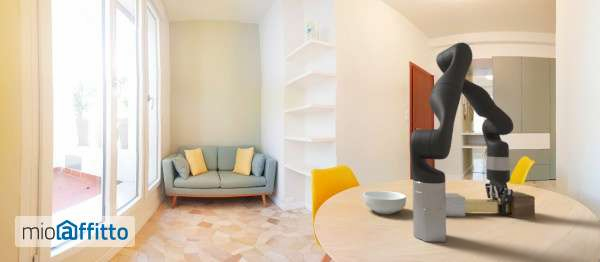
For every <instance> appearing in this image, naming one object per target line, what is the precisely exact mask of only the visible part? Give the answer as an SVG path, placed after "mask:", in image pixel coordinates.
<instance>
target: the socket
mask: <svg viewBox="0 0 600 262" xmlns="http://www.w3.org/2000/svg"><path fill="white" fill-rule="evenodd" d="M500 196H503V195H500ZM501 200H502V198H501ZM507 200H508V199H507ZM535 200H536V199H535V196H533V195H530V194H527V193H524V192H520V191H517V190H515V191H514V190H513V194H512V198H511V208H512V213H506V214H505V215H507V216H510V217H512V218H514V219H535V218H536V213H535V212H536V210H535V209H536V208H535V207H536V206H535V205H536V202H535Z"/></svg>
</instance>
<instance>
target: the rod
mask: <svg viewBox="0 0 600 262" xmlns="http://www.w3.org/2000/svg"><path fill="white" fill-rule="evenodd" d="M501 201H502V200H501ZM465 213H499V202H498V200H496V199H490V198H488V199H487V198H485V199H481V198H480V199H473V198H472V199H471V198H465ZM506 213H512V208H511V203H510V204H507V205H506Z"/></svg>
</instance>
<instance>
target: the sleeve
mask: <svg viewBox="0 0 600 262" xmlns="http://www.w3.org/2000/svg"><path fill="white" fill-rule="evenodd" d="M445 194H446V217H461V218H462V217H464V218H465V217H466V216H467V215H466V212H465V199H466V196H463V195H461V194H459V193H456V192H455V193H453V192H451V193H450V192H449V193H448V192H445Z"/></svg>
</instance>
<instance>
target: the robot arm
mask: <svg viewBox="0 0 600 262" xmlns="http://www.w3.org/2000/svg"><path fill="white" fill-rule="evenodd" d="M471 48H472V47H470V45H469V44H467V43H466V42H458V43H454V44H453V45H451V46H450V47H448V48H446V49H445V50H443V51H441V52H440V53H438V54H437V55H436V58H435V59H436V60H435V61H436V65H437V67H438V68H439V70H440V71H441V72H442V73H443V74H442V75H441V76H440V77H439V78H438V80H437V81H436V82H435V84H434V85H433V87H432V89H431V93H430V96H429V98H428V99H429V101H428V102H429V103H428V104H429V106H430V109H431V111H432V112H433V114H434V115H435V117H436V118H437V121H438V122H439V126H438V127H437V128H434V129H430V128H429V129H428V128H427V129H424V128H423V129H415V130H413V131H412V132H411V135H410V139H409V145H410V146H409V149H410V162H411V174H412V175H411V176H412V209H413V210H412V213H413V214H412V216H413V217H412V219H413V221H412V222H413V226H412V227H413V228H412V229H413V230H412V231H413V236H414V237H415V238H417V239H418V240H419V239H420V240H423V242H431V243H432V242H433V243H434V242H435V243H437V242H438V243H446V242H447V216H446V194H445V193H447V192H446V173H445V172H444V171H442V170H440V169H437V168H436V167H433V166H432V165H430V164H429V162H428V161H427V160H445V159H447V157H449V154H450V151H451V149H452V148H451V147H452V142H453V141H452V140H453V135H454V134H453V132H454V126H455V121H456V116H457V111H458V110H459V109H458V108H459V105H460V102H461V97H462V95H463V97H465V99H466V100H467V101H468V104H470V106H471V108H472V109H473V110H474V112H475V113H476V114H477V116H478V117H480V118H481V117H482V118H485V119H484V121H483V122H482V125H481V130H482V131H481V132H482V134H483V138H484V142H485V144H486V145H485V146H486V161H485V162H486V163H485V164H486V166H485V168H486V171H485V172H486V174H485V176H486V180H487V181H489V183H486V182H485V184H484V185H485V190H486V197H487V198H488V199H496V200H498V202H499V212H498V213H499V214H500V215H507V214H506V205H507V204H510V203H511V198H512V194H513V191H514V190H513V189H510V188H508V184H507V183H508V182H510V181H511V163H510V146H509V144H508V142H506V141H503V140H502V138H501V136H506V135H509V134H511V133H512V132H513V130H514V123H513V119H511V117H510V116H509V115H508V114H507V113H506V112H505V111H504V110H503V109H501V107H499V106H498V104H496V103H495V101H494V99H493V98H492V96H491V95H490V93H489V92H488V91H487V90H486V89H484V88H483V87H482V86H481V85H478V84H476V83H473V81H470V80H468V79H467V74H468V72H469V69H470V67H471V65H472V61H473V56H474V55H473V51H472V49H471ZM500 195H503V196H500ZM501 198H502V201H501ZM507 199H508V200H507Z"/></svg>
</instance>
